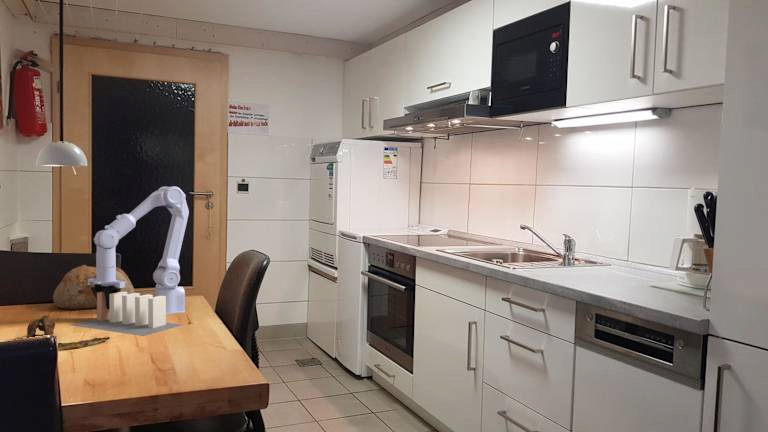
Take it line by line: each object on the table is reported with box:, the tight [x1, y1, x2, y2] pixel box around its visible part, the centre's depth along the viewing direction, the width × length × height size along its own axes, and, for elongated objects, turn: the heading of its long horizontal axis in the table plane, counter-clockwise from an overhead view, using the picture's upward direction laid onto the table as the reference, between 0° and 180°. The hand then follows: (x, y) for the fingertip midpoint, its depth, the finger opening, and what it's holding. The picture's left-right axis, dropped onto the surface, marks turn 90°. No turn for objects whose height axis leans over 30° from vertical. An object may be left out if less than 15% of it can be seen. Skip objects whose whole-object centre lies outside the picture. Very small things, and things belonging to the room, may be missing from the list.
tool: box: [26, 315, 111, 352], centre depth 155 cm, size 23×6×30 cm
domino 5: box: [148, 296, 167, 328], centre depth 177 cm, size 2×5×9 cm, turn 156°
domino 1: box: [96, 291, 110, 321], centre depth 186 cm, size 2×5×9 cm, turn 157°
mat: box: [70, 318, 183, 337], centre depth 179 cm, size 31×16×1 cm, turn 66°
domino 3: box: [122, 292, 141, 324], centre depth 182 cm, size 2×5×9 cm, turn 156°
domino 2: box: [109, 292, 127, 322], centre depth 184 cm, size 2×5×9 cm, turn 156°
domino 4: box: [135, 294, 154, 326], centre depth 180 cm, size 2×5×9 cm, turn 156°
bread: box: [52, 264, 135, 310], centre depth 211 cm, size 26×23×15 cm
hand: (106, 308), depth 186 cm, fingers open, 3 cm apart
